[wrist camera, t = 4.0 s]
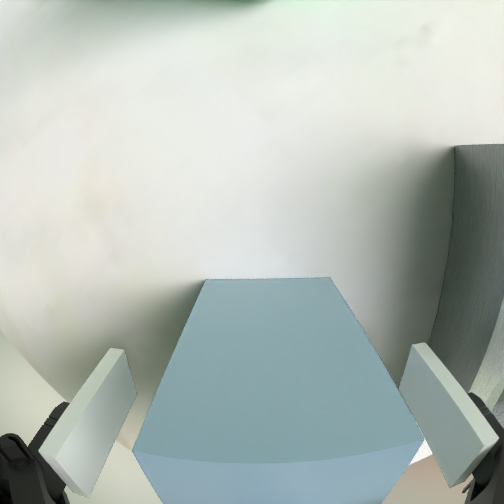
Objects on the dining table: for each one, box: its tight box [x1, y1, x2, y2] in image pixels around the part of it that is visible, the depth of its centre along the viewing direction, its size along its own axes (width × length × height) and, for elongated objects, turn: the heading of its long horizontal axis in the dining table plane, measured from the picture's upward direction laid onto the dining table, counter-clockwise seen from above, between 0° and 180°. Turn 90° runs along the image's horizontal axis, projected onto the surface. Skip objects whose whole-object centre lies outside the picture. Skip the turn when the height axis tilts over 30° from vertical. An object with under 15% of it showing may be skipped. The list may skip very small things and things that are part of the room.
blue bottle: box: [132, 277, 424, 504], centre depth 9 cm, size 6×7×12 cm
